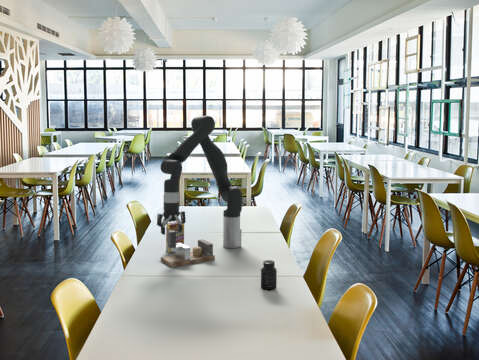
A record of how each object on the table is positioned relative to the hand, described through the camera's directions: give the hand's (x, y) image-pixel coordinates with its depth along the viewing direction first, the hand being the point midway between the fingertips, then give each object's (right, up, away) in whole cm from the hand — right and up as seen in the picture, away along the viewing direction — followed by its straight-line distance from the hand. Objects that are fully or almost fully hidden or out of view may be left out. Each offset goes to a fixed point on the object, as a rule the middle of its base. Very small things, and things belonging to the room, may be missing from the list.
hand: (171, 233), depth 252 cm
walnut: (+12, -12, +10) cm, 19 cm away
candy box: (-1, -12, +23) cm, 26 cm away
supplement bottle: (+46, -21, -29) cm, 58 cm away
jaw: (+2, -13, +4) cm, 13 cm away
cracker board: (+7, -14, +7) cm, 18 cm away
